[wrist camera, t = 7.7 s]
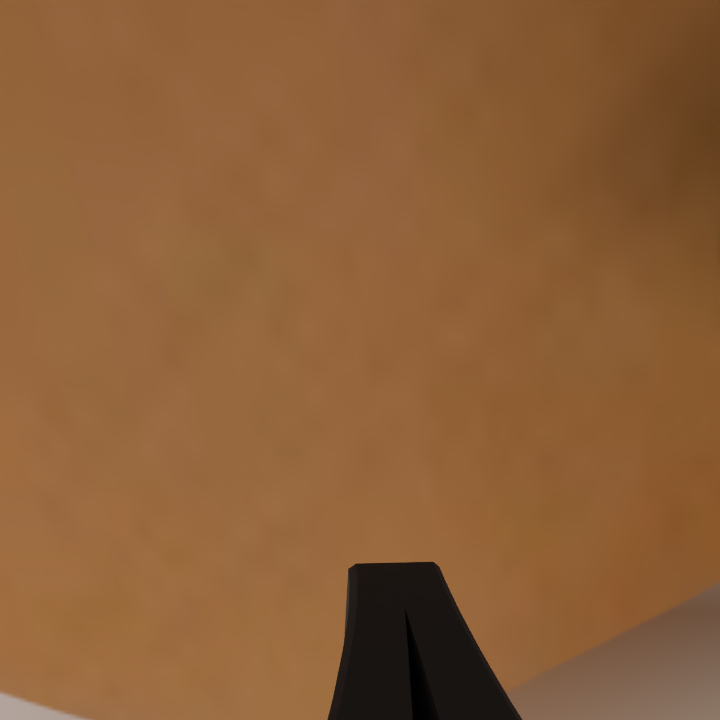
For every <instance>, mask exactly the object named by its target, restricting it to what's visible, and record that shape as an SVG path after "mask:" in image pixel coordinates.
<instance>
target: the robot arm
mask: <svg viewBox="0 0 720 720" xmlns="http://www.w3.org/2000/svg"><path fill="white" fill-rule="evenodd" d="M328 720H522V719H521V717H520V715H519V714H518V712H517V711H516V709H515V708H514V706H513V705H512V703H511V701H510V699H509V698H508V696H507V694H506V693H505V691H504V689H503V688H502V686H501V684H500V683H499V681H498V679H497V678H496V676H495V674H494V673H493V671H492V669H491V668H490V666H489V664H488V662H487V661H486V659H485V657H484V655H483V654H482V652H481V650H480V648H479V646H478V645H477V643H476V641H475V639H474V637H473V635H472V633H471V632H470V630H469V628H468V626H467V624H466V622H465V620H464V618H463V616H462V614H461V613H460V611H459V609H458V607H457V605H456V603H455V600H454V598H453V596H452V594H451V592H450V590H449V588H448V586H447V583H446V581H445V579H444V577H443V574H442V572H441V570H440V567H439V566H438V565H436V564H435V563H434V562H409V563H365V564H355V565H354V566H352V567H351V568H349V569H348V586H347V603H346V621H345V638H344V647H343V652H342V657H341V662H340V667H339V672H338V677H337V681H336V686H335V691H334V696H333V700H332V705H331V709H330V713H329V716H328Z"/></svg>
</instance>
